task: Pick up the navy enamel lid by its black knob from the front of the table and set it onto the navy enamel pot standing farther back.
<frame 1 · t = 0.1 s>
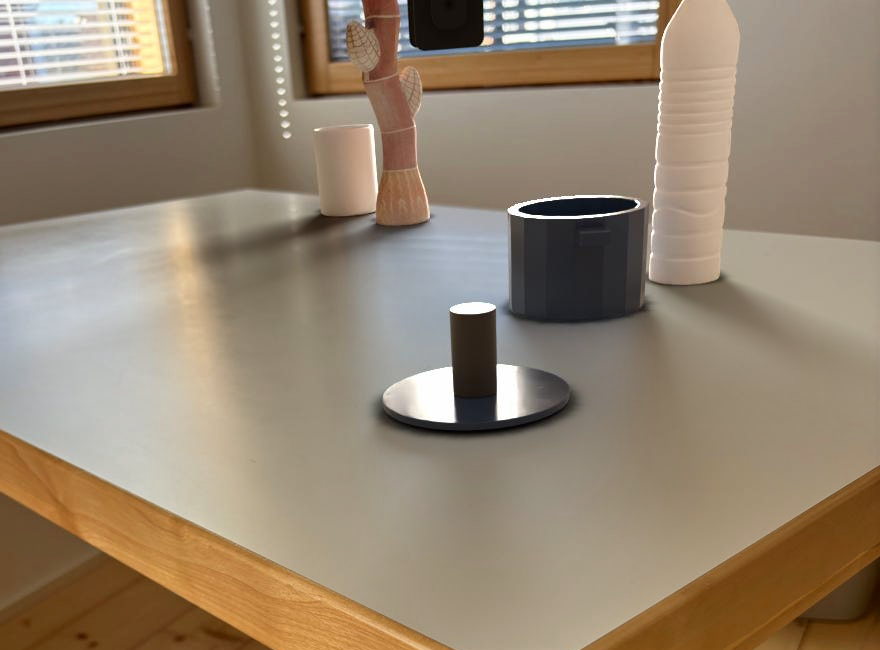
hand: (443, 47, 53), 21 cm above the table, tool pointing down, fingers open, 9 cm apart
water bottle: (684, 279, 99), on the table
pot: (575, 309, 91), on the table
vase: (396, 223, 139), on the table
mug: (346, 211, 151), on the table
lid: (475, 398, 70), point 1 cm above the table
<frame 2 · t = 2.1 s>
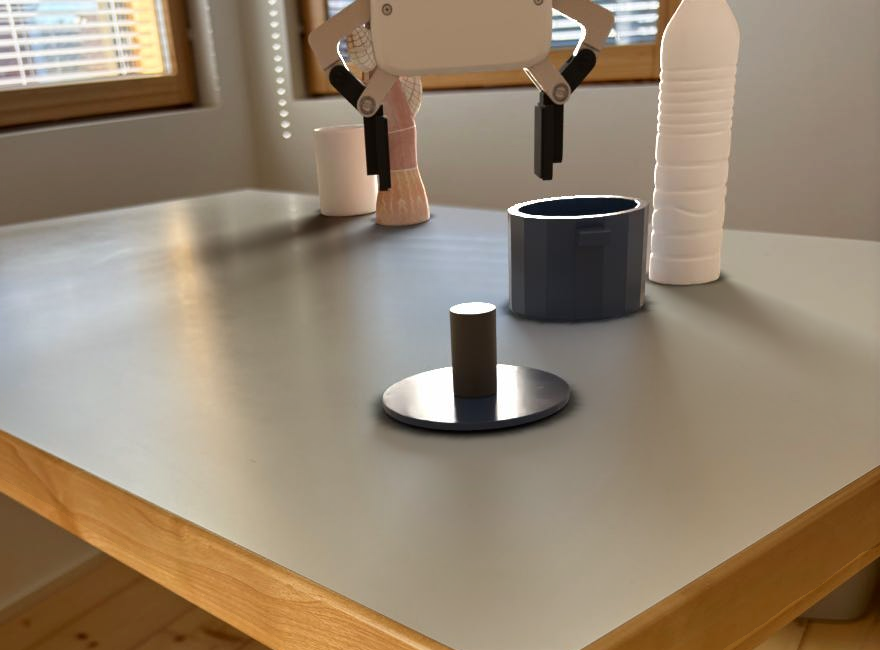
hand: (464, 182, 63), 14 cm above the table, tool pointing down, fingers open, 9 cm apart
nothing on the table moved.
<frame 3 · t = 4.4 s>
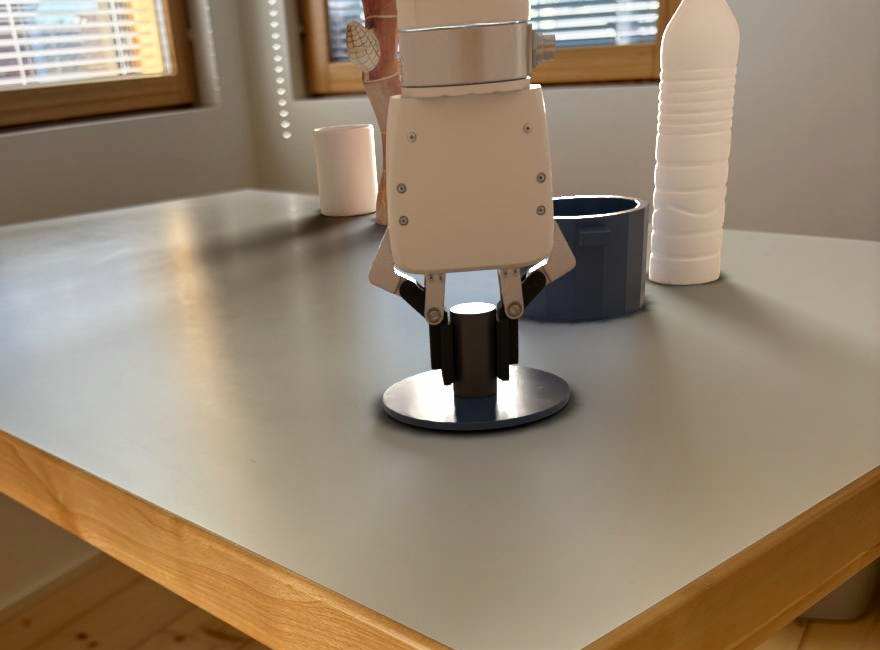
hand: (474, 375, 69), 2 cm above the table, tool pointing down, fingers closed on lid, 3 cm apart
lid: (475, 398, 70), point 1 cm above the table, touching gripper
everything else where it was.
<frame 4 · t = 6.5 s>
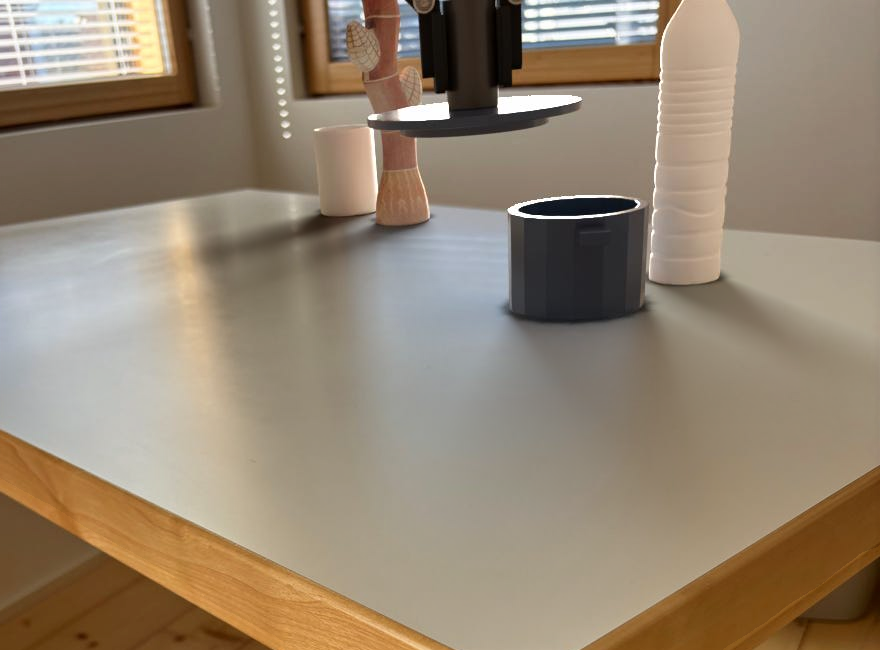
hand: (472, 85, 60), 19 cm above the table, tool pointing down, fingers closed on lid, 3 cm apart
lid: (473, 117, 61), point 18 cm above the table, touching gripper
everything else where it was.
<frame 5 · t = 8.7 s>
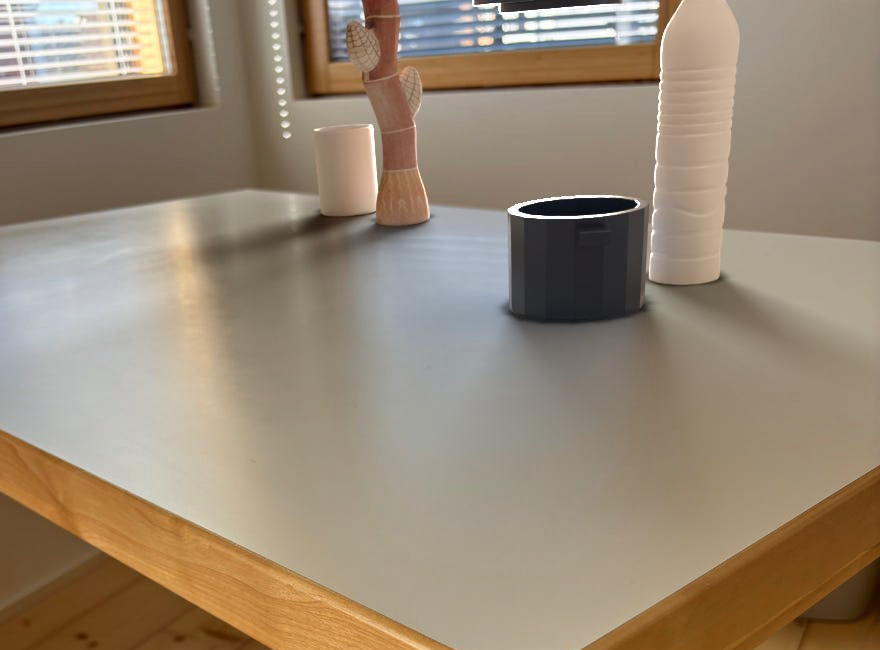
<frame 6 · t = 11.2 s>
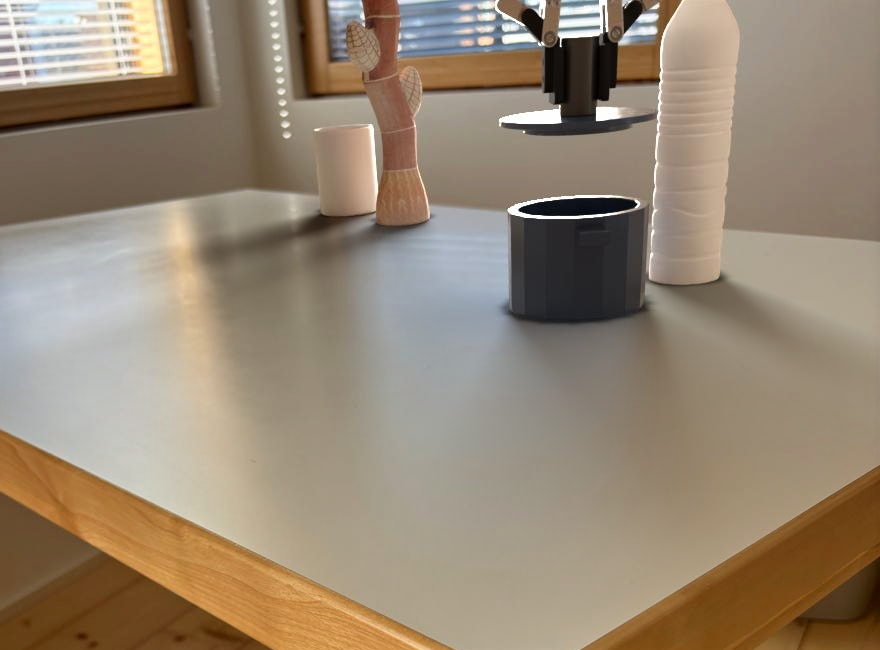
hand: (578, 99, 83), 17 cm above the table, tool pointing down, fingers closed on lid, 3 cm apart
lid: (578, 121, 84), point 15 cm above the table, touching gripper
everything else where it was.
when the fingers open (10 cm above the table, at t = 12.9 s): lid stays where it is, resting on pot.
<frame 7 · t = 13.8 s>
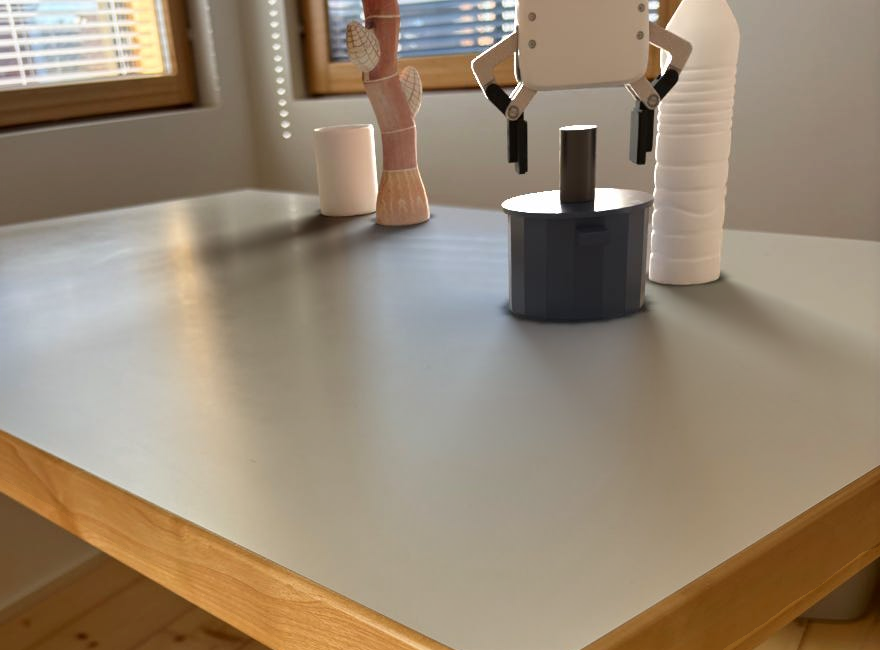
hand: (579, 167, 85), 11 cm above the table, tool pointing down, fingers open, 9 cm apart
lid: (577, 206, 87), point 8 cm above the table, touching pot
everything else where it was.
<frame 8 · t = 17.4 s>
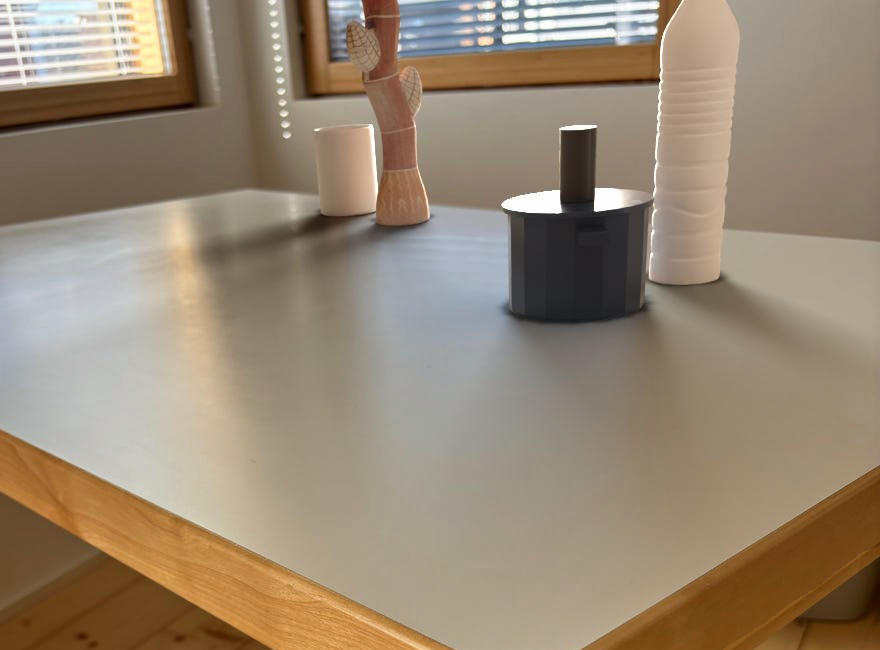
nothing on the table moved.
at the end: lid 0.0 cm off-centre on the pot, point 8.5 cm above the pot's base; lid tilted 0°; the gripper is holding nothing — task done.
